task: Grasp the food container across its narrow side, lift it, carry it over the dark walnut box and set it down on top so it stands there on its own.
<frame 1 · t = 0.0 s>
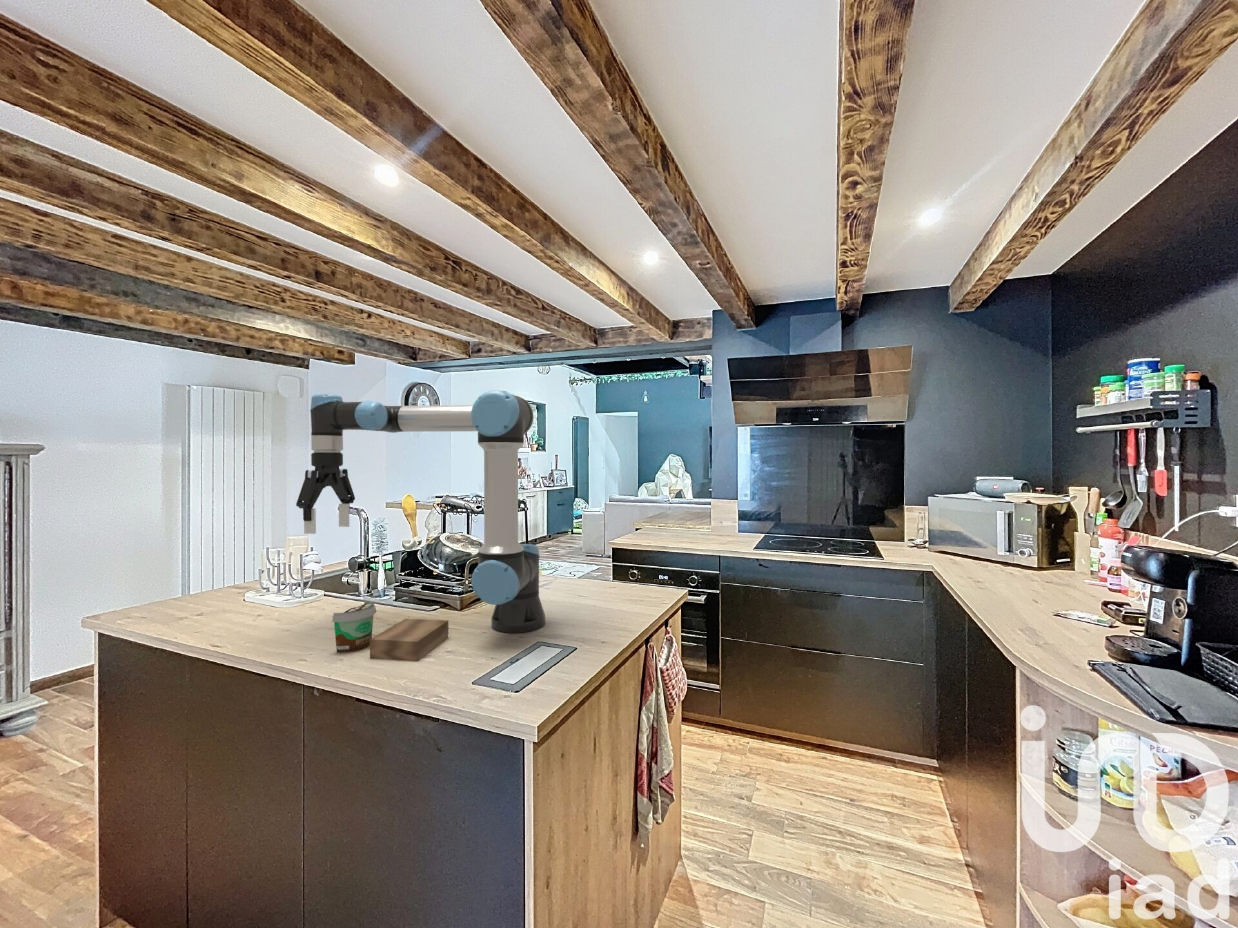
hand: (327, 530, 143), 28 cm above the countertop, fingers open, 13 cm apart
walnut box: (411, 649, 132), on the countertop
food container: (360, 647, 133), on the countertop
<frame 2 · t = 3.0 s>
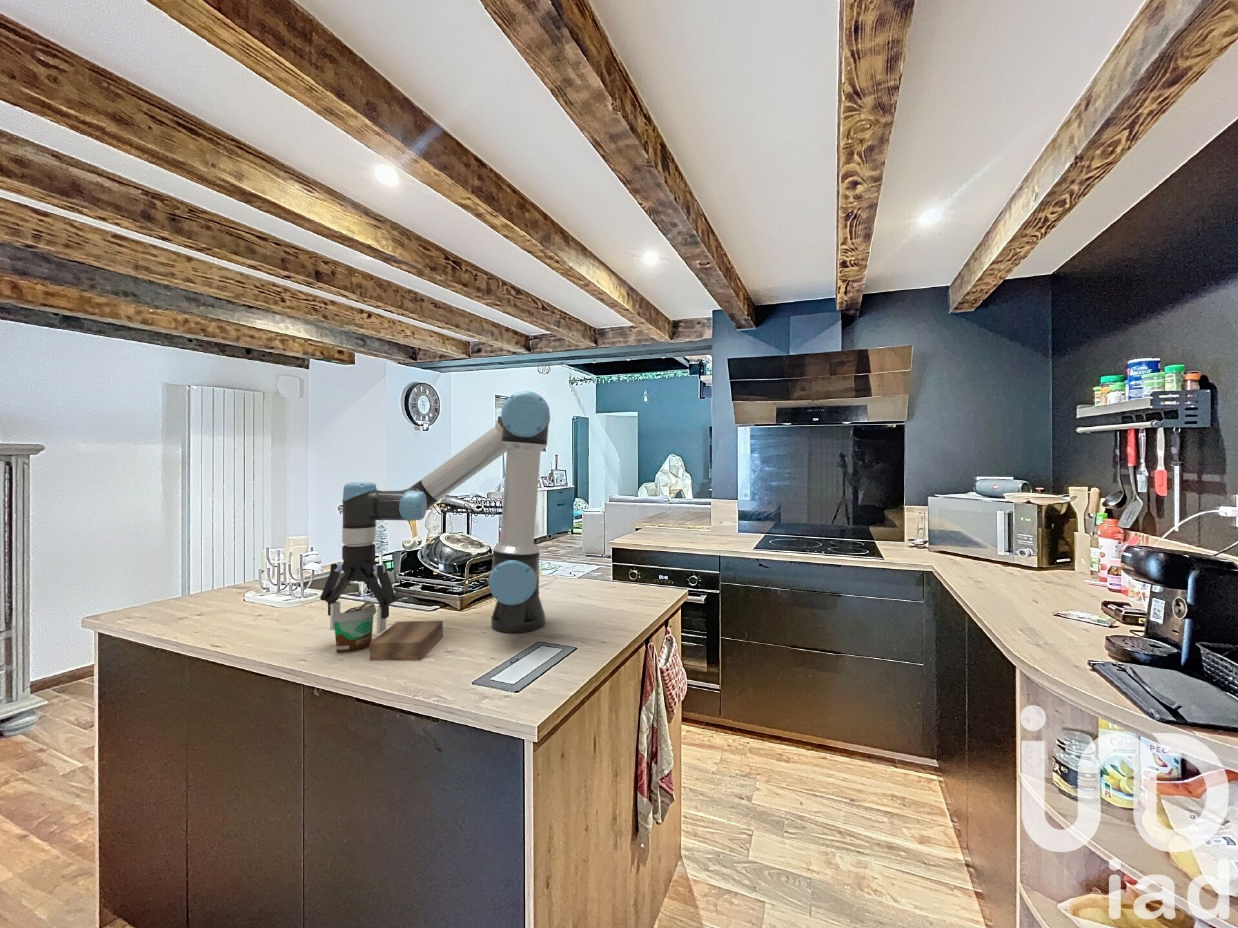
hand: (358, 629, 132), 4 cm above the countertop, fingers open, 12 cm apart
walnut box: (408, 650, 132), on the countertop, touching gripper
everything else where it was.
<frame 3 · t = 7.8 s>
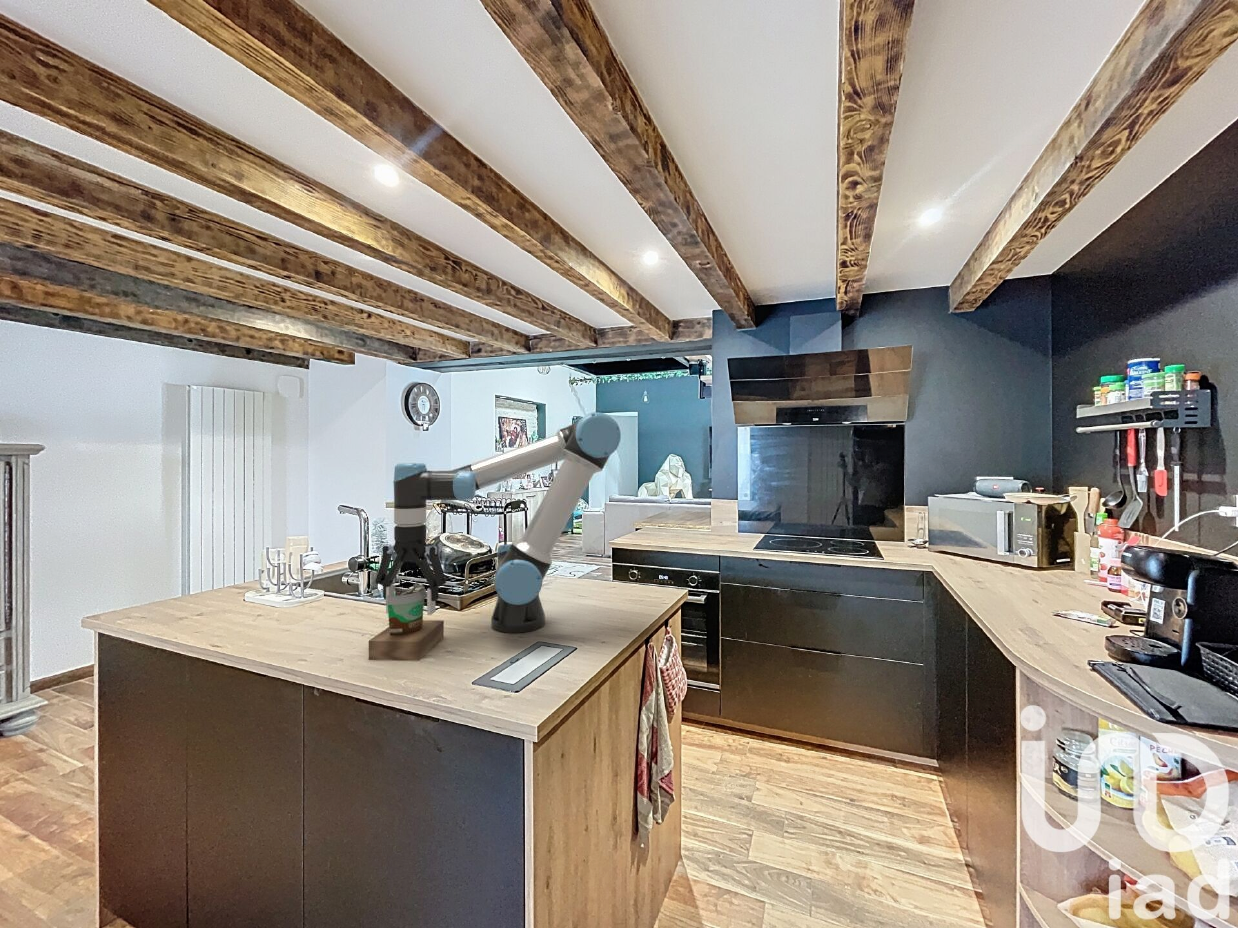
hand: (410, 612, 132), 9 cm above the countertop, fingers open, 10 cm apart
walnut box: (408, 649, 132), on the countertop, touching food container
food container: (412, 630, 132), point 4 cm above the countertop, touching walnut box
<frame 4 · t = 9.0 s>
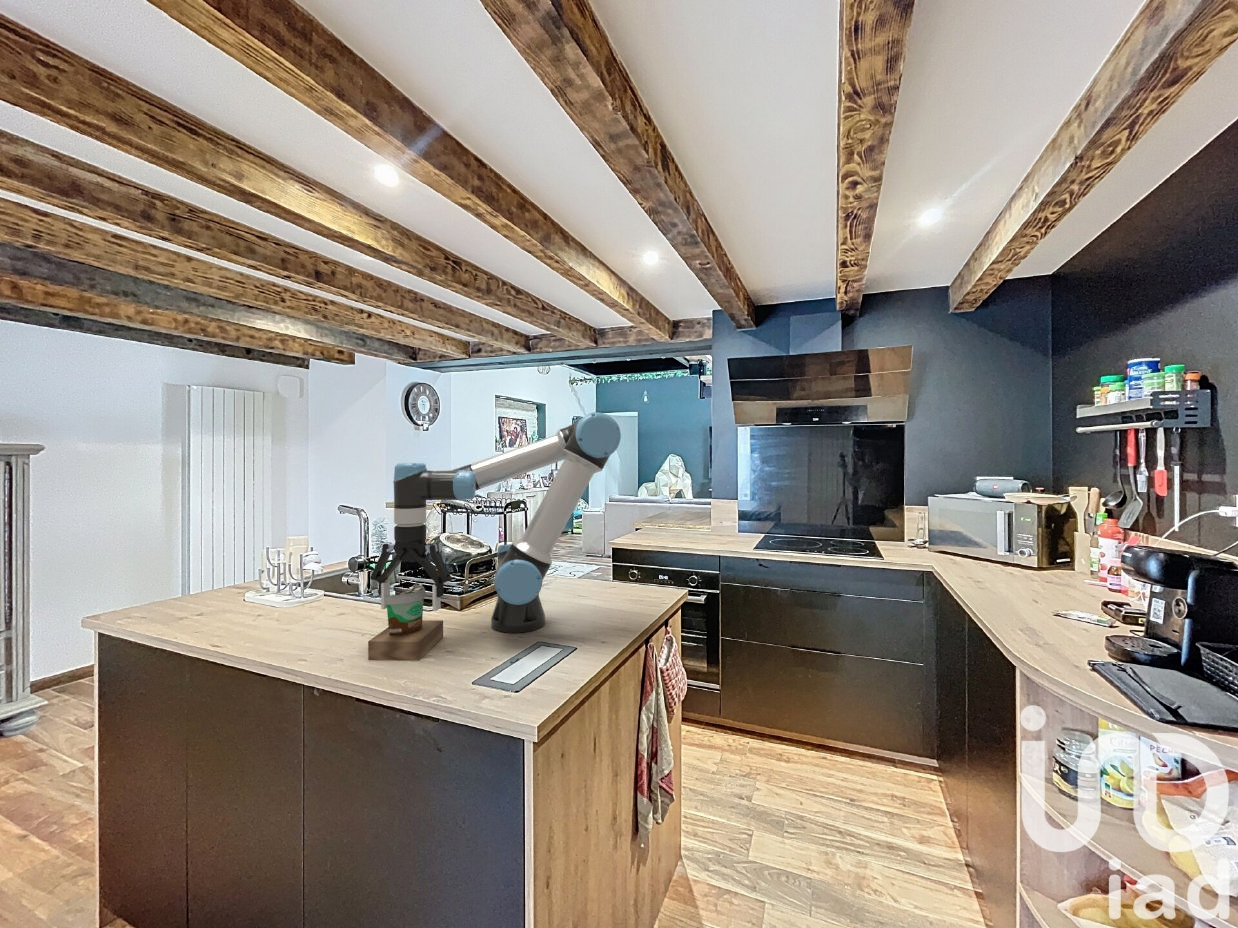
hand: (411, 608, 132), 10 cm above the countertop, fingers open, 13 cm apart
nothing on the countertop moved.
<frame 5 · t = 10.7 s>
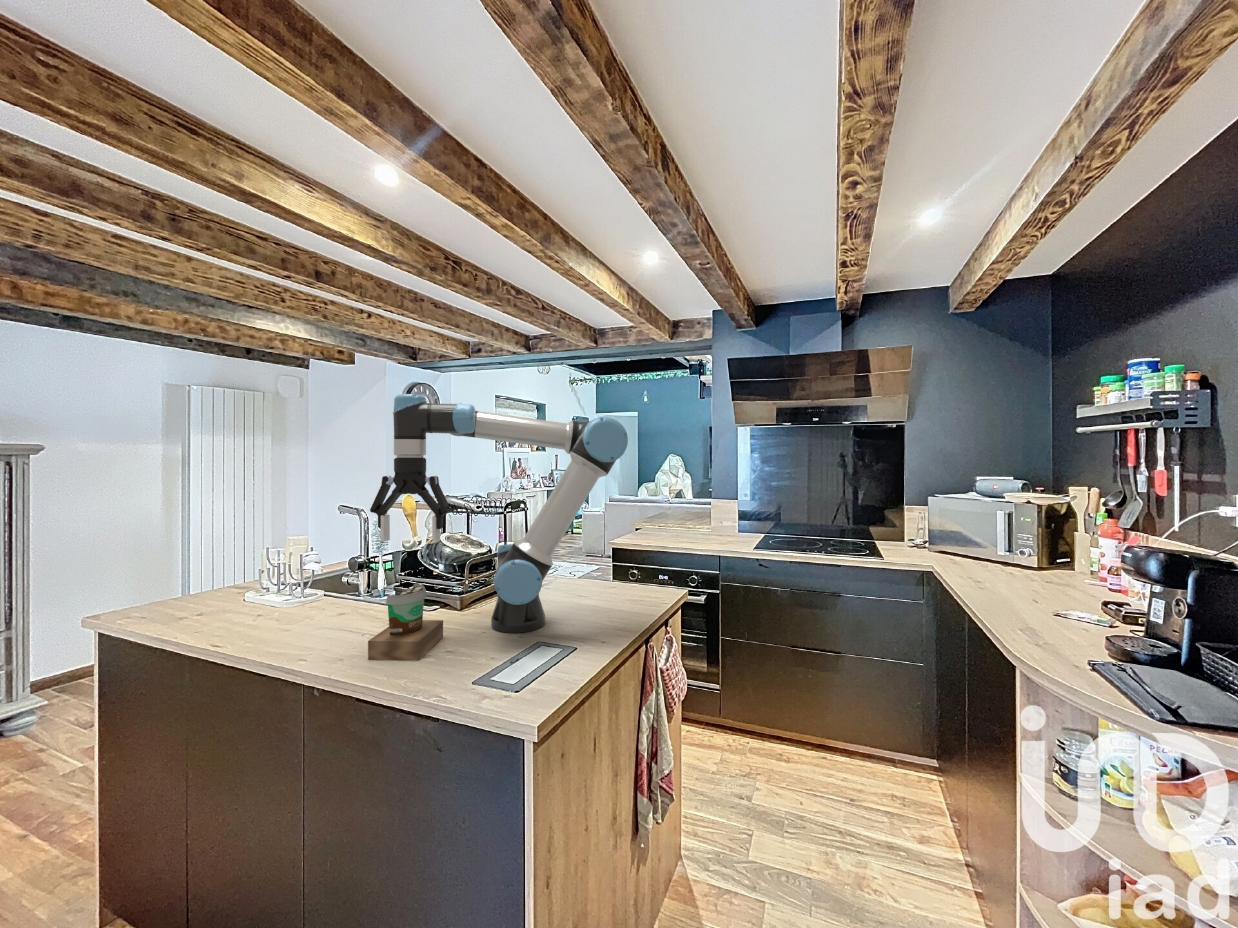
hand: (410, 541, 132), 27 cm above the countertop, fingers open, 13 cm apart
nothing on the countertop moved.
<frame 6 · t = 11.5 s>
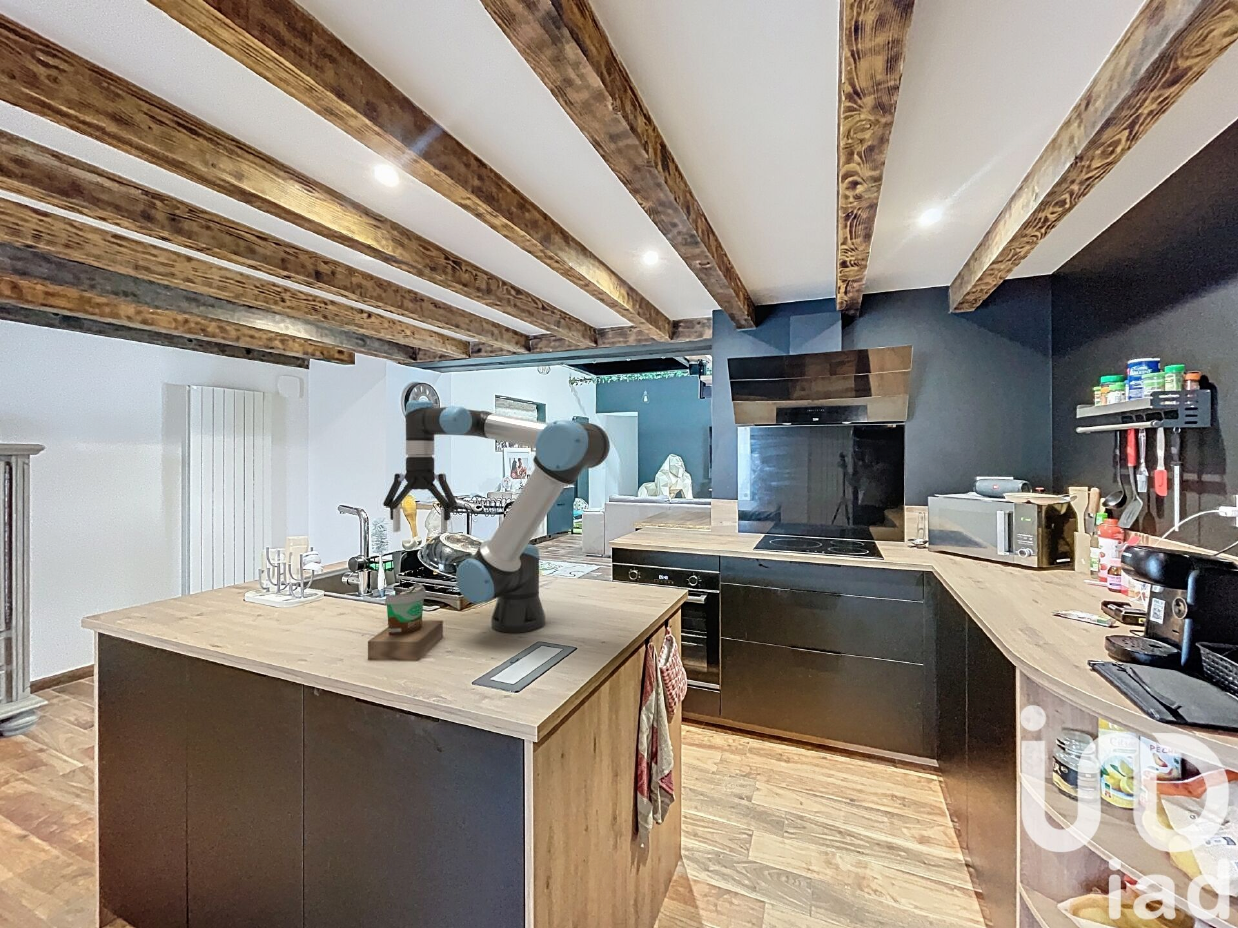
hand: (420, 532, 148), 27 cm above the countertop, fingers open, 13 cm apart
walnut box: (407, 649, 132), on the countertop
food container: (411, 630, 132), point 4 cm above the countertop
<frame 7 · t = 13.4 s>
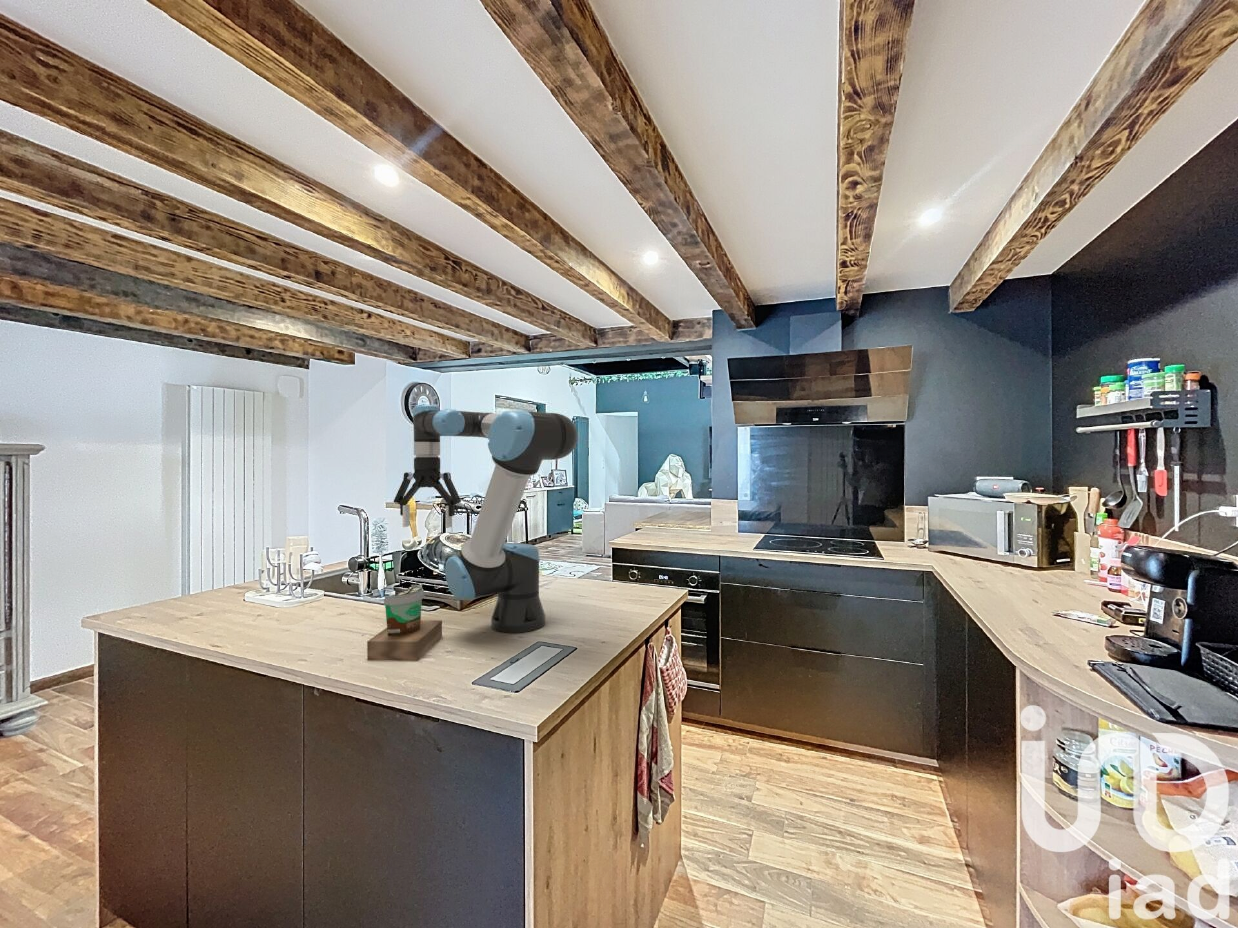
hand: (427, 526, 159), 27 cm above the countertop, fingers open, 13 cm apart
walnut box: (407, 649, 132), on the countertop, touching food container
food container: (410, 631, 132), point 4 cm above the countertop, touching walnut box
at the end: food container inside the target area on the walnut box (1.0 cm from its centre), point 4.8 cm above the walnut box's base; food container tilted 1°; the gripper is holding nothing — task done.
